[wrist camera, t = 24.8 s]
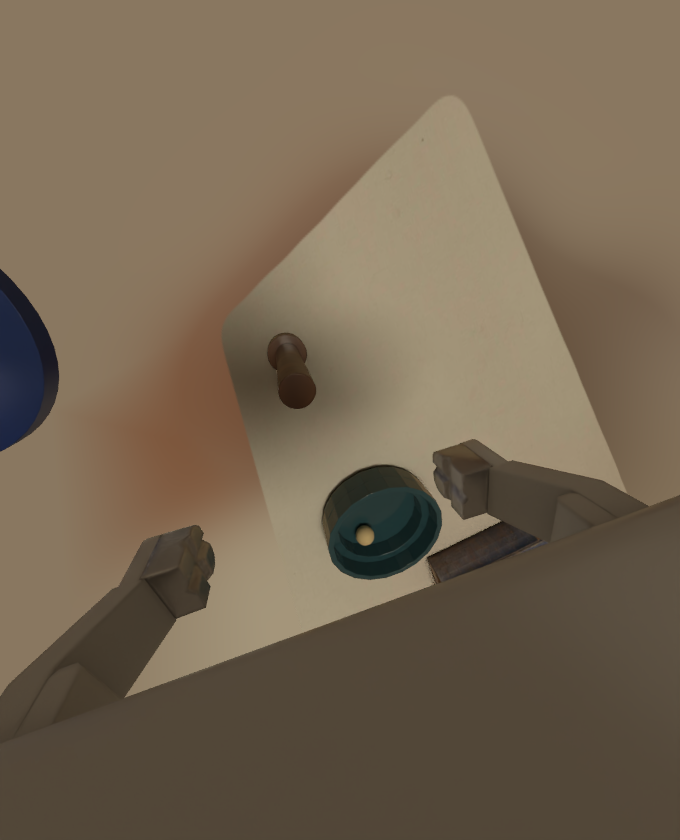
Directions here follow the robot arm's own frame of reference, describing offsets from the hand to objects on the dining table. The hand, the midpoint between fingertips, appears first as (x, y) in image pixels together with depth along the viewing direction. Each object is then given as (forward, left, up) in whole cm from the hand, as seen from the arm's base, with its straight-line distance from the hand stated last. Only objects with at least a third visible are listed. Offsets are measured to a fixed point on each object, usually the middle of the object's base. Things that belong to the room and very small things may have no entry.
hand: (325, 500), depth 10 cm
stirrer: (0, 0, -27) cm, 27 cm away
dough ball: (+4, -31, -25) cm, 40 cm away
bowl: (+7, -28, -27) cm, 40 cm away
